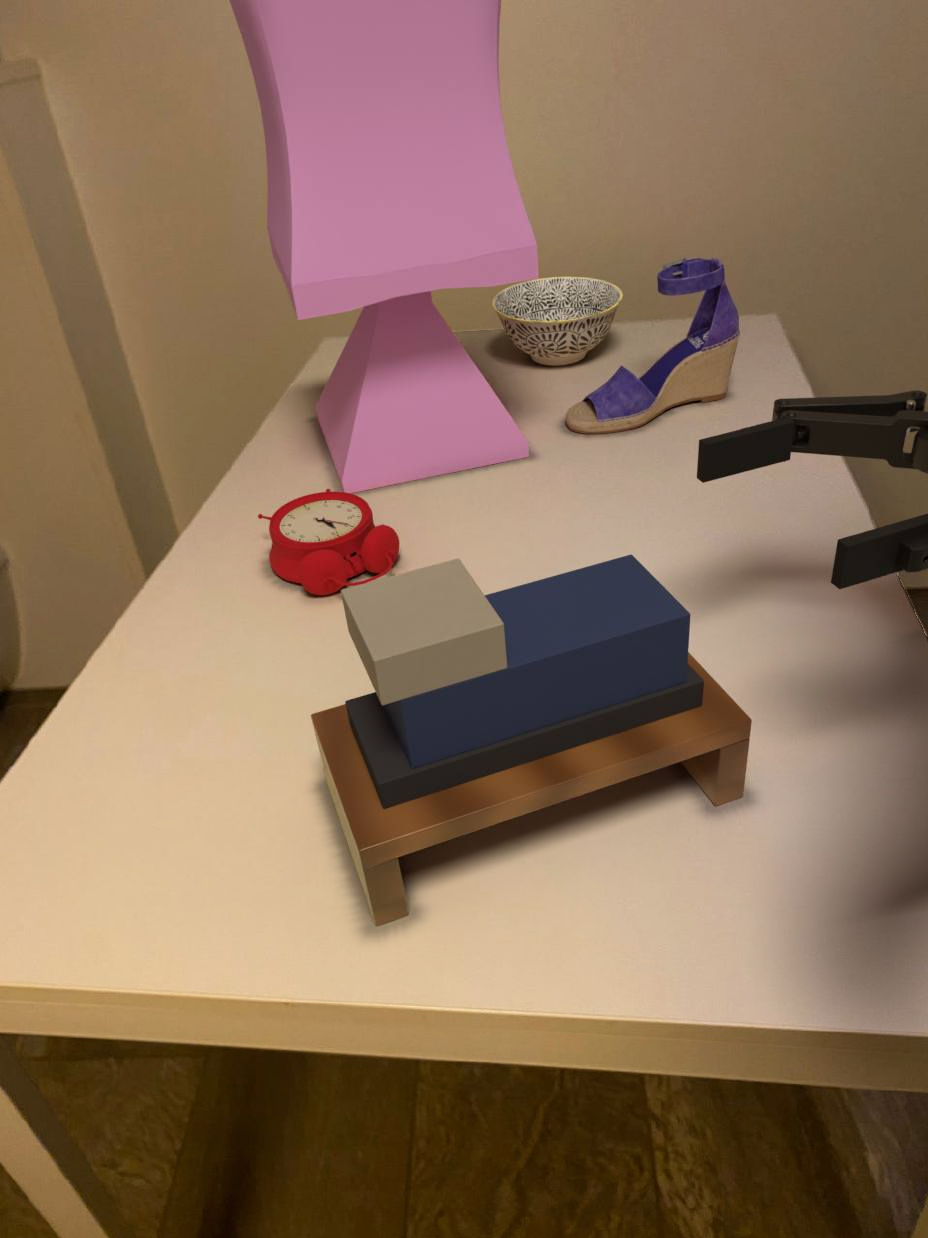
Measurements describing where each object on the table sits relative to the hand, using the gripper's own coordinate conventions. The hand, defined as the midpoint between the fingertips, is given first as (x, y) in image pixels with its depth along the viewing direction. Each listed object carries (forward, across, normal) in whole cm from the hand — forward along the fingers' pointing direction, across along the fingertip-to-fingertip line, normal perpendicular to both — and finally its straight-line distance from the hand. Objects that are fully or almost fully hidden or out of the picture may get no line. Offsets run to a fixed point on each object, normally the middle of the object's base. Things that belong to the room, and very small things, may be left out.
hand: (762, 508), depth 56 cm
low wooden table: (+16, 0, -17) cm, 23 cm away
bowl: (-17, +68, -16) cm, 72 cm away
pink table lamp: (+6, +54, -17) cm, 57 cm away
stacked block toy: (+16, 0, -10) cm, 19 cm away
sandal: (-19, +47, -17) cm, 54 cm away
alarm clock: (+20, +33, -17) cm, 42 cm away
